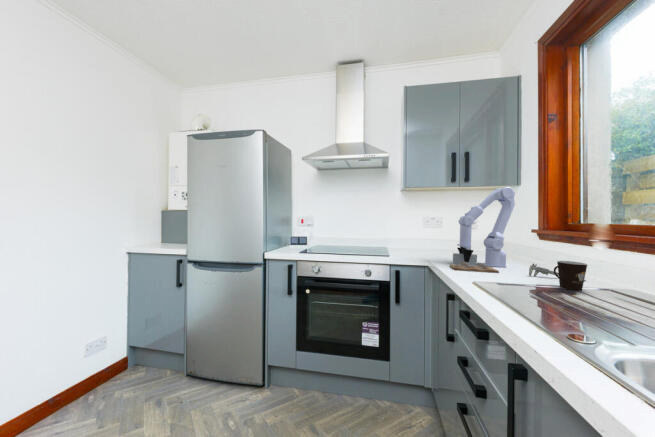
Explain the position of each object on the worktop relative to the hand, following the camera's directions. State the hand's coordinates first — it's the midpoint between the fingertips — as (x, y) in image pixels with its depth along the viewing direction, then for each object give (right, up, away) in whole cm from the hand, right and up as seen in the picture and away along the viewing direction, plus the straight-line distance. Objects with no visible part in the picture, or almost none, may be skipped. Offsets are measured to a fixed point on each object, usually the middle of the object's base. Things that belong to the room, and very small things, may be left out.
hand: (464, 261), depth 151 cm
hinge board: (-3, -2, -15) cm, 15 cm away
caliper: (+26, -4, -30) cm, 40 cm away
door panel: (0, -2, 0) cm, 2 cm away
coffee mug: (+15, -3, -47) cm, 50 cm away
